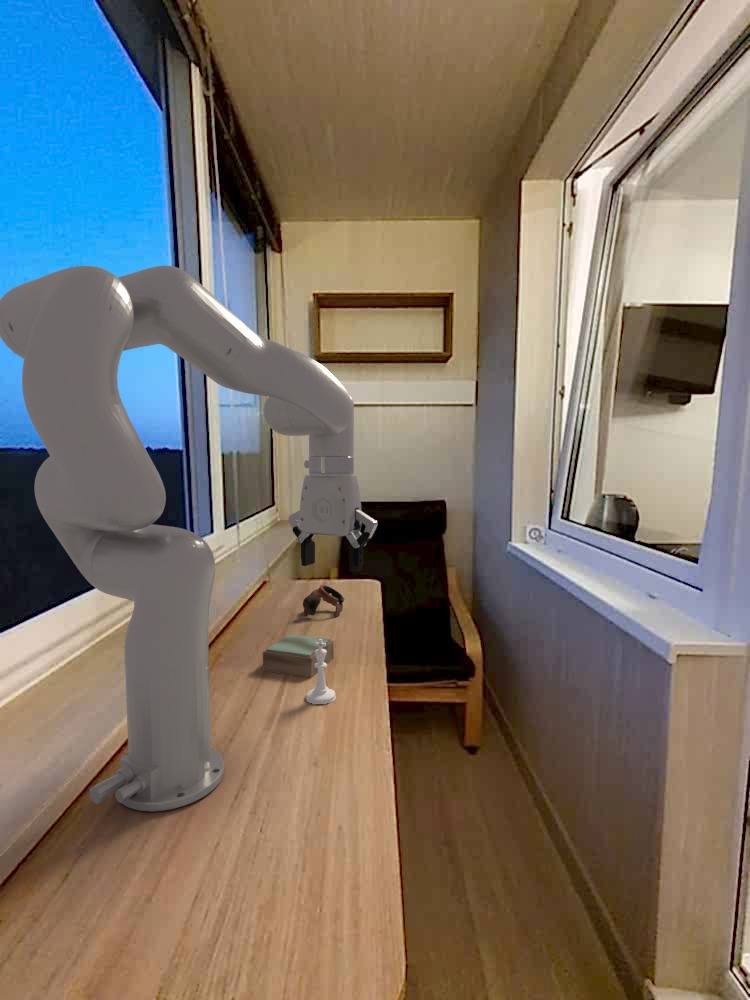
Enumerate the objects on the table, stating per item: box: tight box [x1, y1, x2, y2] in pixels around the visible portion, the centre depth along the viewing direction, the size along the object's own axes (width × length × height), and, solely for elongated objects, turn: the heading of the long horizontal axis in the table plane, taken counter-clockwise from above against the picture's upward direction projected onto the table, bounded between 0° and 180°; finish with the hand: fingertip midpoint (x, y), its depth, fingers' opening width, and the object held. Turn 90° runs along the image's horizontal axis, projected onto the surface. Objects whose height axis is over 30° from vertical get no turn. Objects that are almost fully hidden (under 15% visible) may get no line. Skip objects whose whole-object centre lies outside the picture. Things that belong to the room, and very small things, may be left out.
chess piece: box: [305, 639, 337, 705], centre depth 90 cm, size 5×5×10 cm
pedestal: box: [262, 633, 335, 678], centre depth 105 cm, size 10×10×4 cm
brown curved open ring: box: [302, 584, 345, 618], centre depth 137 cm, size 12×10×8 cm
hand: (331, 567), depth 93 cm, fingers open, 9 cm apart
